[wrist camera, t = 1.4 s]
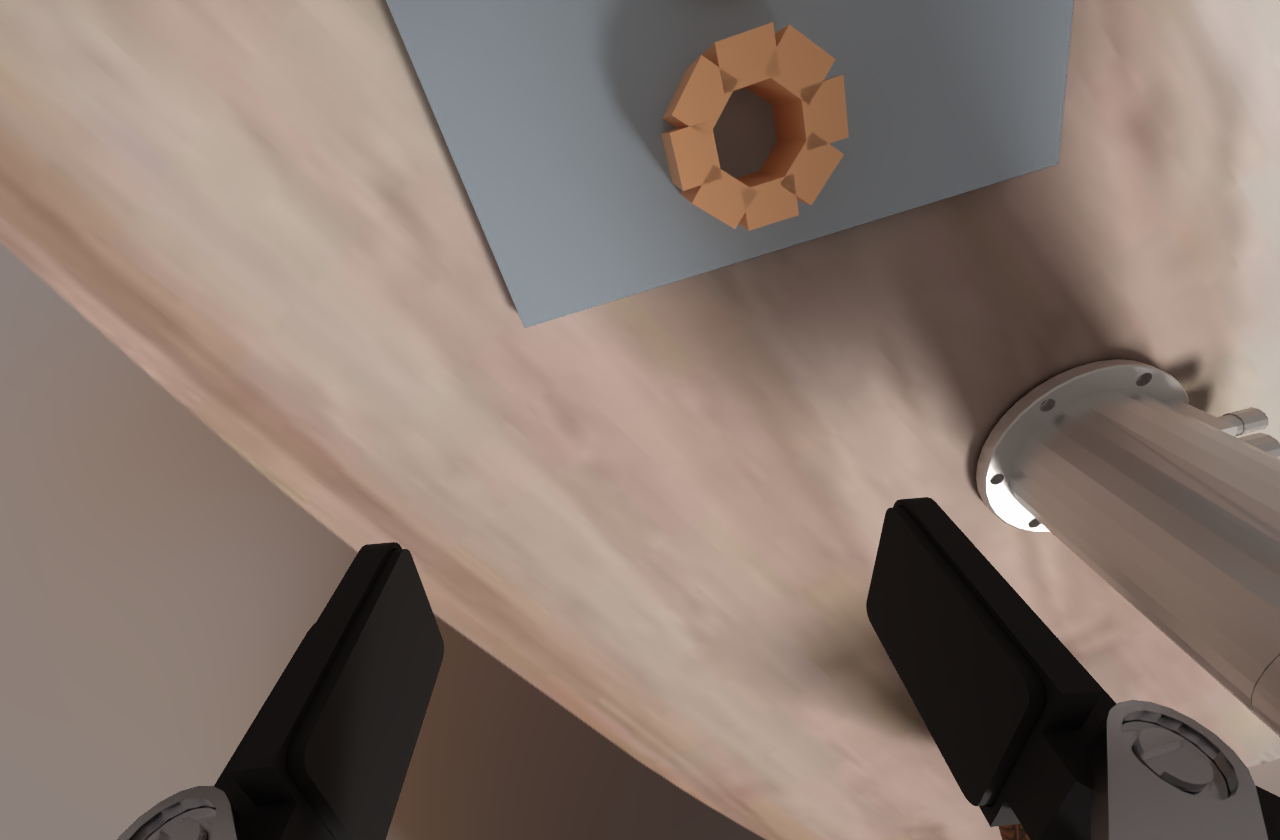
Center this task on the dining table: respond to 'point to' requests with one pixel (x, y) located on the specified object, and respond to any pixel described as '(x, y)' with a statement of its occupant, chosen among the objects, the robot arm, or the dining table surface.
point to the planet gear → (802, 117)
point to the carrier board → (744, 134)
